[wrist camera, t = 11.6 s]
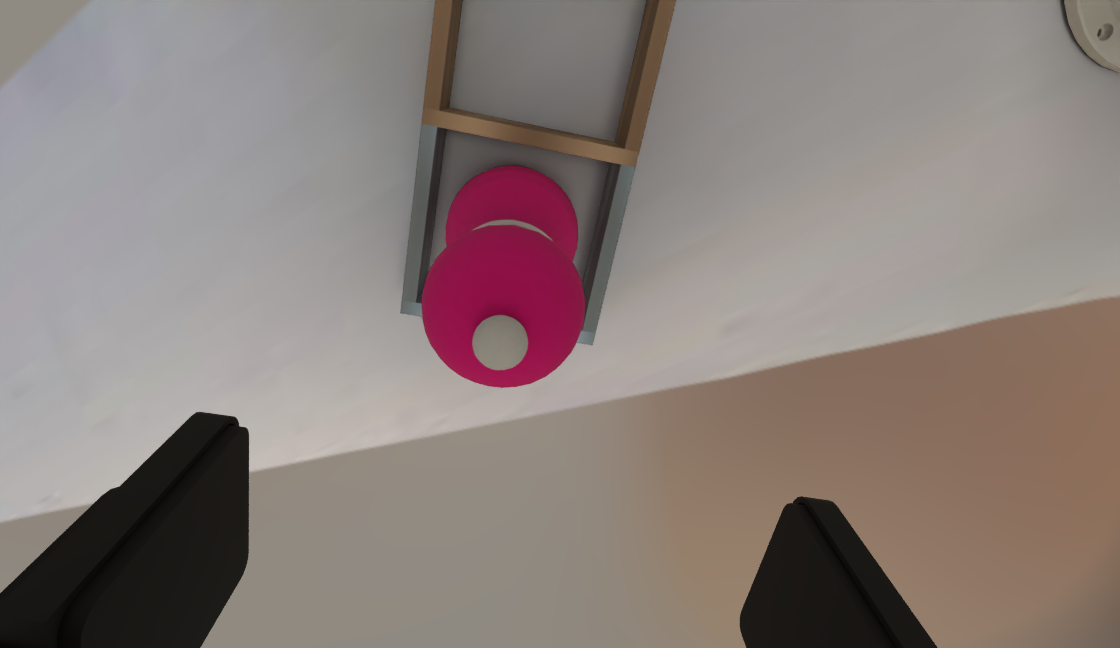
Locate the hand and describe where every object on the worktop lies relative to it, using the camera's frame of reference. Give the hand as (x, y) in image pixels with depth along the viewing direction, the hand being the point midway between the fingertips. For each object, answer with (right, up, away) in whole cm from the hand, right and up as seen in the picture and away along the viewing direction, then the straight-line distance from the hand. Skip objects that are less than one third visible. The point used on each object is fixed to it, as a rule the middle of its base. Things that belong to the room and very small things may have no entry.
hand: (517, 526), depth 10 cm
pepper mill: (-2, +10, +27) cm, 29 cm away
